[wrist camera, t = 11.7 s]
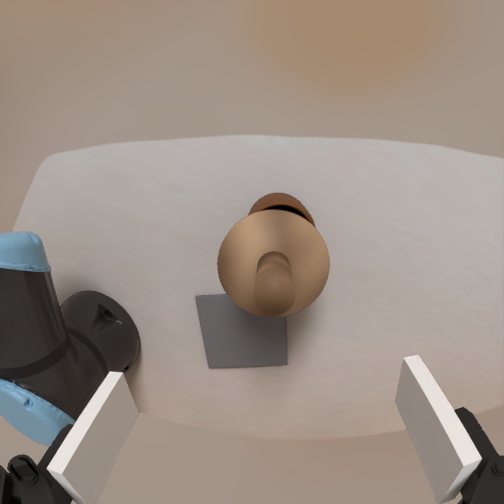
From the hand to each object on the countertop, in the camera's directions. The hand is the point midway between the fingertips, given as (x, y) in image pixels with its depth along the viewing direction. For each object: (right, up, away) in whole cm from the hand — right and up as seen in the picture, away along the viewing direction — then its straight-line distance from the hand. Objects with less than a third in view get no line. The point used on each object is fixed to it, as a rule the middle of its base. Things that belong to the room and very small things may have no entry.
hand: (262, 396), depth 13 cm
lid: (+2, +5, +19) cm, 19 cm away
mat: (-2, -5, +32) cm, 32 cm away
